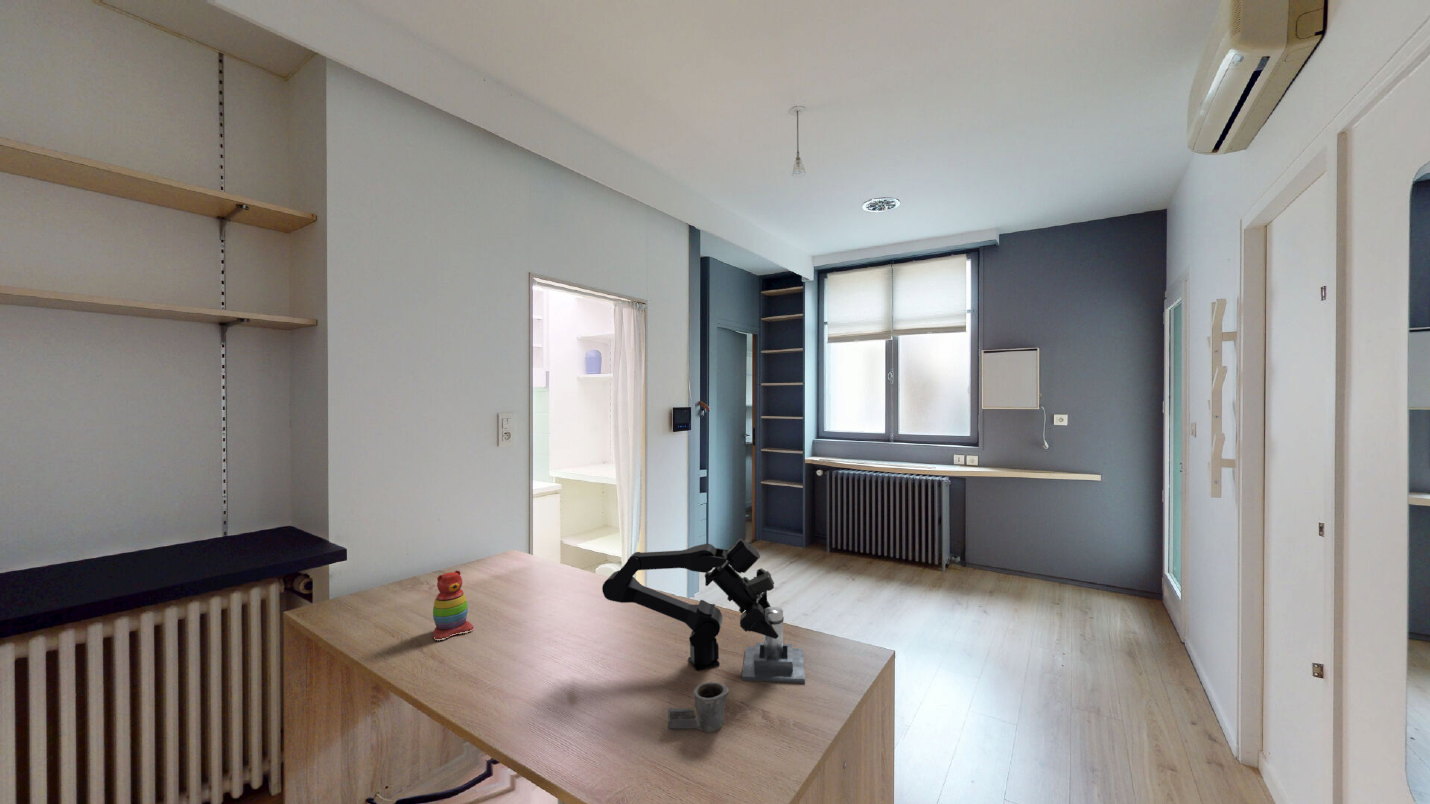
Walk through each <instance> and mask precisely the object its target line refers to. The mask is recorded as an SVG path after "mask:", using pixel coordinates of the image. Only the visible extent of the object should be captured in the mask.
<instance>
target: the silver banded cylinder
mask: <svg viewBox="0 0 1430 804" xmlns="http://www.w3.org/2000/svg"><path fill="white" fill-rule="evenodd" d="M764 610H765V611H766V619H767V621H768V622H769V623H770V624H771V626H772V627H773V628H774V630H775V631H776V632H777V634H778V637H777V638H776V639H774V638H771V637H768V636H765V635H763V643H764V659H783V644H784V618H785V617H784V610H783V609H782V608H780V607H777V606H771V607H767V608H765V609H764Z"/></svg>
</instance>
